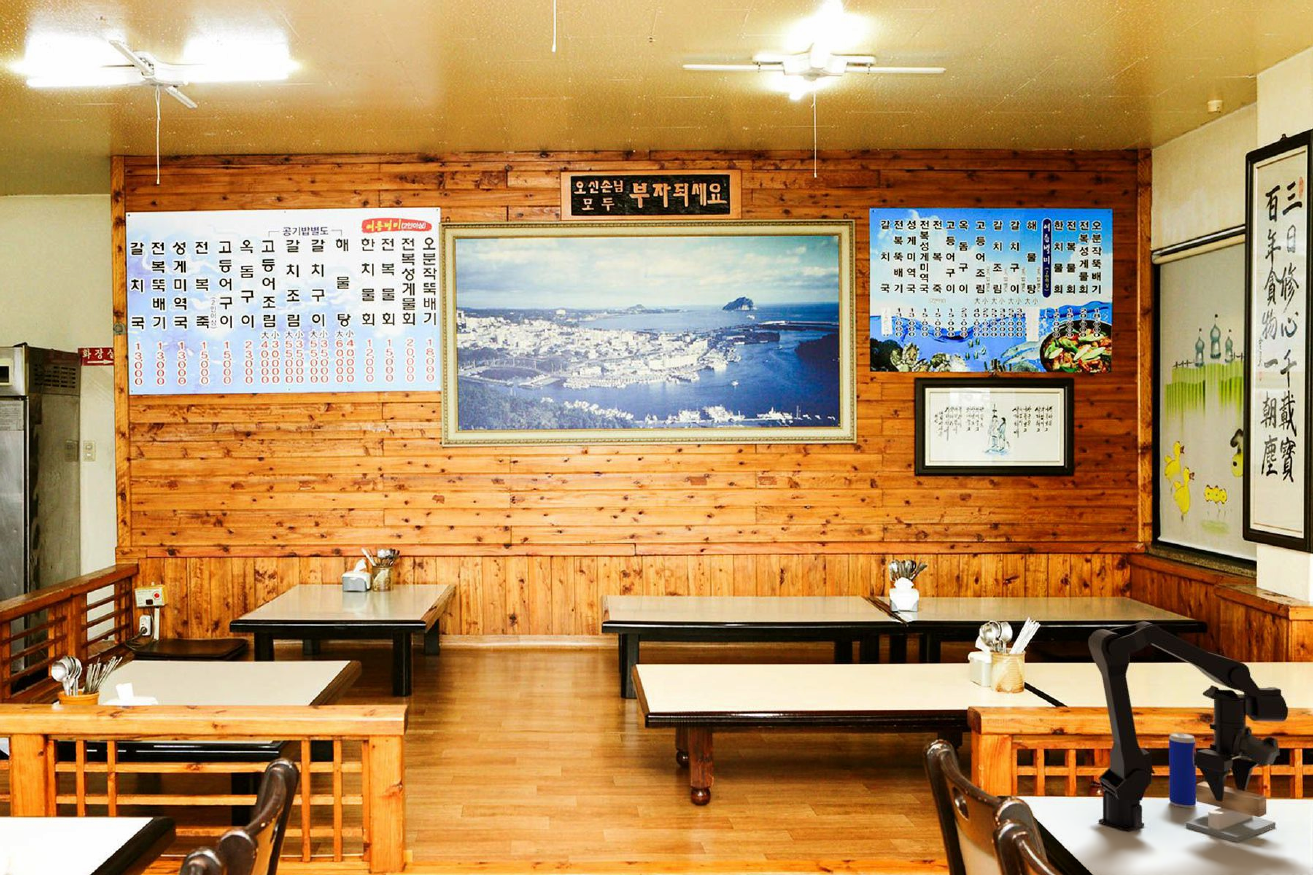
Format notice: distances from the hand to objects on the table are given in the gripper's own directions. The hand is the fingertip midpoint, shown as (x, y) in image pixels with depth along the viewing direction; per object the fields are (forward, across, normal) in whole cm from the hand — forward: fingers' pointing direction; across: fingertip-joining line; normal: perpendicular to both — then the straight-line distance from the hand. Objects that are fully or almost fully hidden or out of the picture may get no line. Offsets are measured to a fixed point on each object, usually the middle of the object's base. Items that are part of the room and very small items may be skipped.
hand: (1230, 797), depth 205 cm
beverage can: (+6, +6, +13) cm, 16 cm away
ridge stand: (+6, 0, 0) cm, 6 cm away
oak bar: (+2, 0, 0) cm, 2 cm away
